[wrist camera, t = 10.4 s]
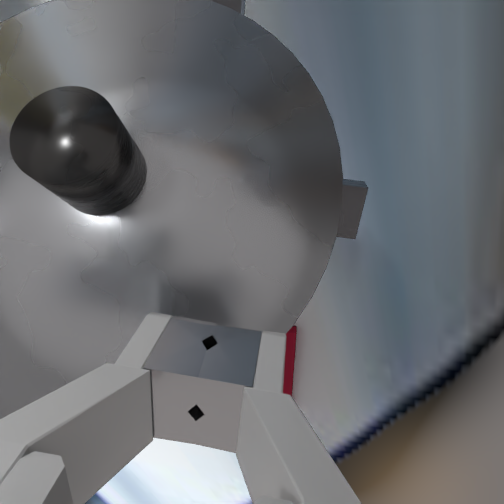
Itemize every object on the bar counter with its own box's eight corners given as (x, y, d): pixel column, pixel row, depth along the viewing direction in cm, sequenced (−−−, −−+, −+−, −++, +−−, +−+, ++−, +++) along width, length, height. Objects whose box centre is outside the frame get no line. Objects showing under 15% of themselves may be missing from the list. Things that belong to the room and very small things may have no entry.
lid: (-12, -2, 13) (-94, -103, 10) (354, 35, 12) (384, -65, 9) (-172, 377, 10) (-360, 392, 7) (307, 467, 9) (327, 530, 6)
